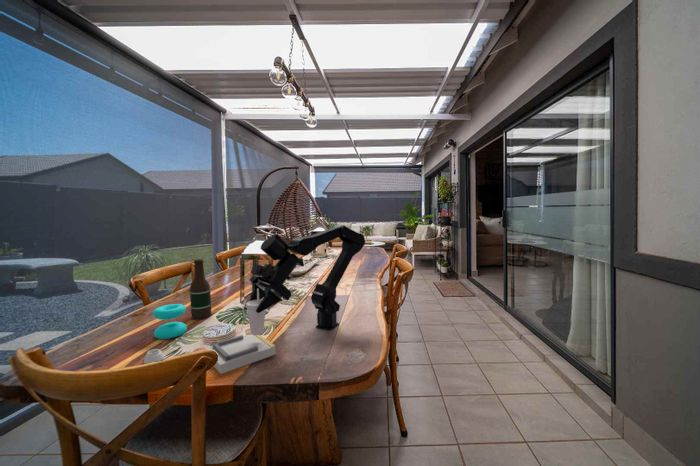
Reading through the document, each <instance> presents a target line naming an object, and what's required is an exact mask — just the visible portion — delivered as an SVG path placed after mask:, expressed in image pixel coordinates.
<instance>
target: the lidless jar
mask: <svg viewBox="0 0 700 466" xmlns="http://www.w3.org/2000/svg"><path fill="white" fill-rule="evenodd" d="M164 359H165V355H164V353H163V352H162V351H161V350H160V349H159V348H154V349H150V350H148V351H147V353H146V355H145V356H144V359H143V364H144V365H147V364H146V363H150V362H155V361H159V362H162V361H163V360H164Z"/></svg>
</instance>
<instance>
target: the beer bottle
mask: <svg viewBox="0 0 700 466" xmlns="http://www.w3.org/2000/svg"><path fill="white" fill-rule="evenodd" d="M193 264H194V268H193V269H194V276H193V280H192V282H191V283H190V286H189V297H190V313H191V318H192V320H203V319H207V318H209V317H211V316H212V300H211V299H212V298H211V288H210V287H211V285H210V283H209V282H208V280H207V279H206V276H205V271H204V260H203V259H194V260H193Z"/></svg>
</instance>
